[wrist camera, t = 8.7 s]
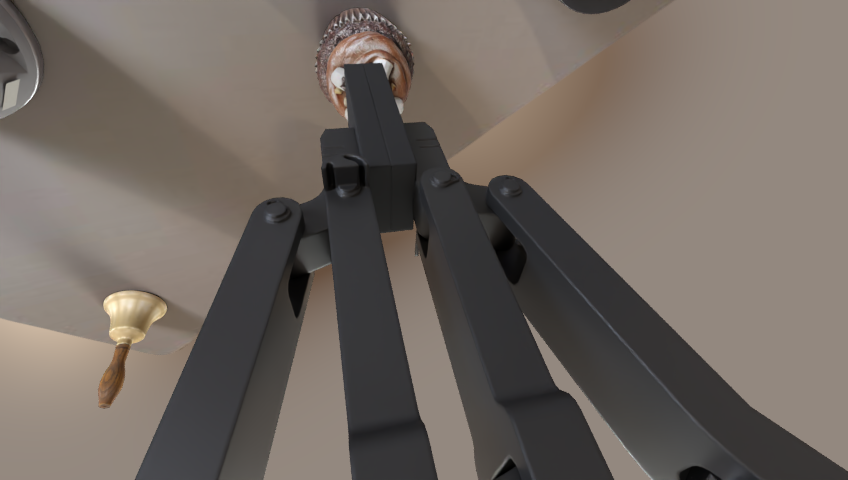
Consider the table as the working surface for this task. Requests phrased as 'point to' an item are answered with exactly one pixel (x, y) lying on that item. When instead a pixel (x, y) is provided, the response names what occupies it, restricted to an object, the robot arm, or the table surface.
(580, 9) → the mug lid
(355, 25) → the cupcake
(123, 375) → the hand bell
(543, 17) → the table surface
